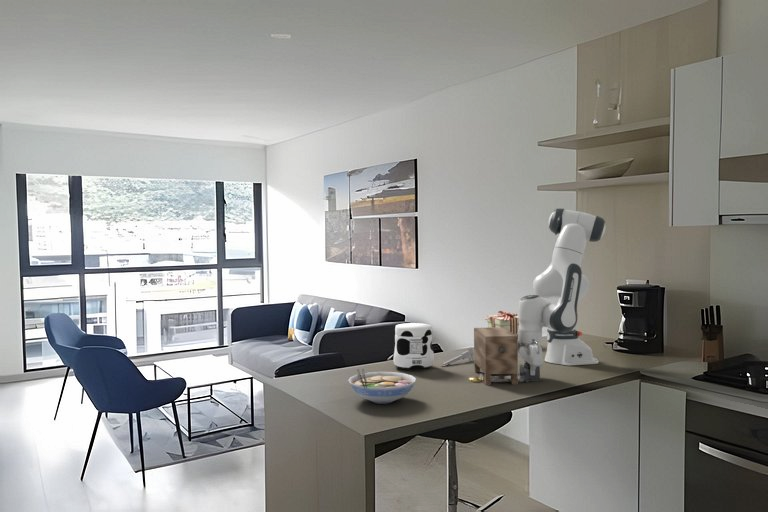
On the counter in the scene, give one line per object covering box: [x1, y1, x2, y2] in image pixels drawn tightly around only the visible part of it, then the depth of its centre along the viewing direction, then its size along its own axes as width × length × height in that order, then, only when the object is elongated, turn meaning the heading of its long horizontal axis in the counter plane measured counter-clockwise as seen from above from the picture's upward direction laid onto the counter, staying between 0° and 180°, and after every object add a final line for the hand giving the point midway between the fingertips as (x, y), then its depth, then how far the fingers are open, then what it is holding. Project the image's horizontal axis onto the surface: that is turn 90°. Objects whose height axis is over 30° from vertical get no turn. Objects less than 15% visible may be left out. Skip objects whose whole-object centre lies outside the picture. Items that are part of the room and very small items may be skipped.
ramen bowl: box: [347, 368, 417, 405], centre depth 195 cm, size 25×23×8 cm
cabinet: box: [473, 327, 519, 386], centre depth 226 cm, size 12×23×18 cm, turn 2°
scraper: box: [479, 363, 541, 383], centre depth 223 cm, size 22×9×6 cm, turn 92°
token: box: [467, 376, 482, 383], centre depth 222 cm, size 5×5×1 cm
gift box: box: [484, 310, 519, 335], centre depth 295 cm, size 17×18×17 cm
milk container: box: [392, 322, 435, 371], centre depth 245 cm, size 17×17×18 cm
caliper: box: [441, 347, 474, 365], centre depth 254 cm, size 20×1×6 cm, turn 130°
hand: (530, 373), depth 223 cm, fingers closed on scraper, 3 cm apart
